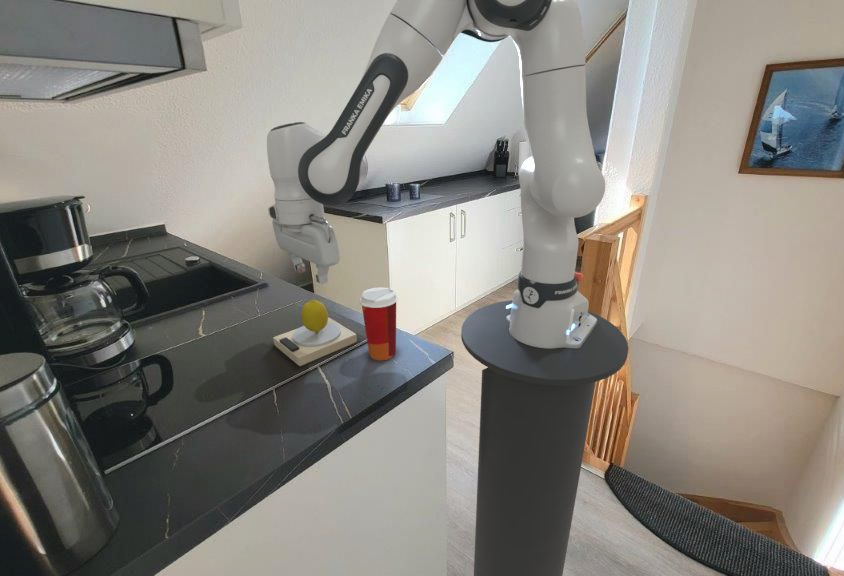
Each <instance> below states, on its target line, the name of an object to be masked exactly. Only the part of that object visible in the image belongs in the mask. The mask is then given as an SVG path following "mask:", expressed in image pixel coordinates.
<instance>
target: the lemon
mask: <svg viewBox="0 0 844 576" xmlns="http://www.w3.org/2000/svg"><path fill="white" fill-rule="evenodd" d="M328 317H329V313H328V310H327V308H326V306H325V305H324V303H323V302H321V301H319V300H315V299H310V300H309V301H307V302H306V303H305V304H304V305H303V307H302V309H301V321H302V324H303V326H305V327H306V328H307V329H308V330H310V331H313V332H315V333H318V332H319V331H320V330H322V329H323V328H324V327H325V326H326V324H327V321H328Z"/></svg>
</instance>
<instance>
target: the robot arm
mask: <svg viewBox="0 0 844 576" xmlns="http://www.w3.org/2000/svg"><path fill="white" fill-rule="evenodd" d="M581 17H582V16H581V12H580V8H579V7H578V4H577V3H576V1H575V0H396V2H395V3H394V5H393V7H392V8H391V10H390V12H389V14H388V15H387V17H386V19H385V21H384V23H383V25H382V27H381V29H380V31H379V34H378V36H377V38H376V39H375V40H376V41H375V42H374V46H373V48H372V51H371V54H370V56H369V59H368V62H367V65H366V66H365V69H364V72H363V74H362V77H361V79H360V81H359V83H358V84H357V86H356V88H355V89H354V91H353V93H352V95H351V97H350V98H349V99H348V102H347V103H346V105H345V107H344V109H343V110H342V112H341V114H340V115H339V117H338V118H337V120H336V122H335V123H334V124H333V127H332V128H331V130H330V131H329V133H328V134H325V133H324V132H321V131H319V130H317V129H316V128H314V127H312V125H310V124H309V123H308V122H304V121H297V122H290V123H286V124H281V125H277V126H275V127H273V128H271V129H270V130H269V132H268V133H267V136H266V154H267V162H268V170H269V174H270V178H271V180H272V182H273V186H274V203H273V204H272V205H269V207H268V208H267V211H268V215H269V217H270V218H272V227H273V232H274V236H275V240H276V243H277V245H278V247H279V249H281V250H283V251H285V252H288V255H289V259H290V260H291V262H292V264H293V268H294V272H296V273H298V274H302V273H305V272H306V265H305V263H304V262H303V260H305V261H307V262H310V263H312V264H315V268H316V269H317V274H315V278H316V279H315V281H316V283H318V284H319V285H323V284H327V283H328V281H329V279H328V273H329V270H330V267H333V266H335V265H338V264H339V263H340V259H341V256H340V250H339V246H338V240H337V237H336V233H335V230H334V228H333V226H331V225H330V224H329V222H328V221H327V219H326V217H325V209H324V205H325V206H330V207H331V206H333V207H334V206H340V205H342V204H345V203H347V202H348V201H349V200H350V199H352V197H353V196H354V195H355V193H356V191H357V189H358V188H359V187H360V186H361V185H362V184H363V182H364V181H365V180H366V178H367V175H368V169H369V166H368V165H369V164H368V160H367V157H366V152H368V149H369V148H370V146H371V144H372V143H373V141H374V139H375V138H376V136H377V135H378V133H379V132H380V130H381V128H382V127H383V125H384V123H385V122H386V120H387V119H388V117H389V116H390V114H391V113H392V112H393V111H394V110H395V108H396V107H397V106H398V105H400V104H401V103H402V102H403V101H404V100H406V99H408V98H409V97H410V96H412V95H413V94H415V93H416V92H418V91H419V90H420V89H421V88H422V87H423V86H424V85H425V84H426V82H427V81H428V80H429V79H430V77H432V75H433V74H434V72H436V70H437V68H438V67H439V65H440V64H441V62H442V61H443V59H444V57H445V56H446V54H447V52H448V51H449V50H450V47H451V46H452V44H453V42H454V41H455V39H456V38H457V37H458V36H459V35H460V34H463V35H467V36H469V37H472V38H474V39H476V40H478V41H482V42H485V43H497V42H501V41H503V40H505V39H506V38H508V37H509V38H510V39H511V41H512V42H513V43H514V45H515V48H516V49H517V52H518V53H517V54H518V57H519V71H520V72H519V73H520V88H521V89H520V90H521V104H522V105H521V106H522V119H523V126H524V129H525V131H526V134H527V138H528V141H529V145H530V151H531V156H529V157H528V158H527V159H525V160H524V161H523V163H522V164H521V167H520V168H519V172H518V182H519V183H518V184H519V188H520V210H521V222H522V224H521V225H522V252H521V267H520V271H519V272H518V277H517V289H516V290H514V292H513V296H512V300H513V302H512V304H510V305H507V306H506V309H508V308H511V307H512V308H511V314H510V315H508V316H507V318H506V322H507V323H508V324H509V332H510V334H511V335H512V336H513V337H514V338H515V339H516V340H518V341H520V342H522V343H524V344H526V345H530V346H533V347H539V348H564V347H565V348H580V347H581V346H582V344H583V343H584V342H585V340H586V339H587V337H588V336H589V334H590V333H591V331H592V330H593V328H594V327H595V325H596V324H597V319H596V318H595V317H594V316H592V315H590V314H589V313H588V311H589V305H590V303H589V302H590V301H589V300H588V299H587V297H586V296H584V295H583V294H582V293H581V292H580V291H579V290H578V283H581V282H582V281H583V280H584V273H582V272H577V271H576V266H577V258H578V251H579V244H580V243H579V236H578V233H577V230H576V225H575V218H582V217H585V216H587V215H589V214H591V213H592V212H593V211H595V210H596V209H597V208H598V206H599V205H600V203H602V200H603V198H604V196H605V192H606V180H605V176H604V174H603V172H602V170H601V169H600V167H599V164H598V161H597V159H596V158H597V157H596V154H595V150H594V144H593V139H592V135H591V131H590V130H591V129H590V126H589V120H588V113H587V111H588V110H587V72H586V70H587V69H586V68H587V67H586V63H587V62H586V46H585V36H584V28H583V23H582V18H581Z"/></svg>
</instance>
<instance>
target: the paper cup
mask: <svg viewBox="0 0 844 576" xmlns="http://www.w3.org/2000/svg"><path fill="white" fill-rule="evenodd" d="M398 300H399V297H398V296H397V294H396V292H395V290H393V289H391V288H389V287H385V286H384V287H383V286H381V287H380V286H378V287H372V288H368V289H366V290H364V291H363V292H362V294H361V296H360V298H359V305H361V310H362V314H363V323H364V329H365V336H366V342H367V348H368V353H369V357H370V359H373V360H375V361H387V360H390V359H392V358H394V356H395V355H396V353H397V302H398Z"/></svg>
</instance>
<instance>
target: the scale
mask: <svg viewBox="0 0 844 576" xmlns="http://www.w3.org/2000/svg"><path fill="white" fill-rule="evenodd" d="M272 340H273V345H274V346H275V347H276V348H277V349H278V350H279V351H281V352H282V353H283V354H284V355H285V356H286V357H288V359H290V360H291V361H293V363H295V364H296V365H297V366H299V367H302V366H304V365H307V364H309V363H312V362H313V361H316V360H318V359H321V358H322V357H325V356H327V355H330V354H332V353H334V352H337V351H339V350H342V349H344V348H346V347H348V346H351V345H353V344H355V343H357V342H358V338H357V333H355V332H354V331H352V330H351V329H349V328H347V327H345V326H344V325H342V324H341V323H339V322H337V321H336V320H335V319H332V318H331V317H329V316H328V321H327V324H326V326H325V327H324V328H323V329H322V330H320V331H319V332H318V333H315V332H313V331H310V330H308V329H307V328H306V327H305V326H304V325H302V326H300V327H298V328H296V329H292V330H289V331H287V332H284V333H281V334H278V335H276V336H274V337H272Z"/></svg>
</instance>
